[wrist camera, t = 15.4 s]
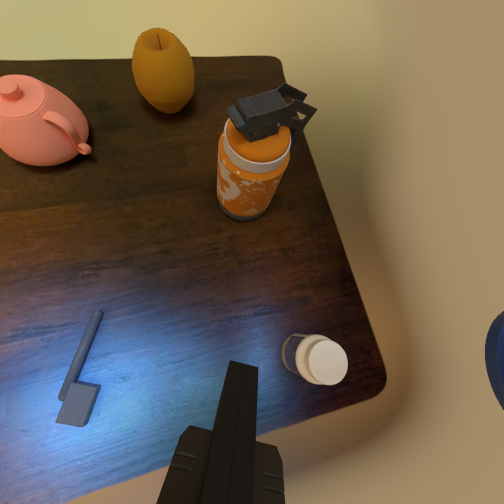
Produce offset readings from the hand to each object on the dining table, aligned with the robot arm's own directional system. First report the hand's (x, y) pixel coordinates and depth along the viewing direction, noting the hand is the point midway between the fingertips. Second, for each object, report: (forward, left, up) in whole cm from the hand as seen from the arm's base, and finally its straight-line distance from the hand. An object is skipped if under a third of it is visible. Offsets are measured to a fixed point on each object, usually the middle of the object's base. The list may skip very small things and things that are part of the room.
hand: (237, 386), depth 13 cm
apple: (+20, -39, -24) cm, 50 cm away
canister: (+2, -25, -24) cm, 35 cm away
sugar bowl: (+34, -25, -24) cm, 48 cm away
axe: (+16, +5, -24) cm, 30 cm away
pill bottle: (-11, -2, -24) cm, 27 cm away
